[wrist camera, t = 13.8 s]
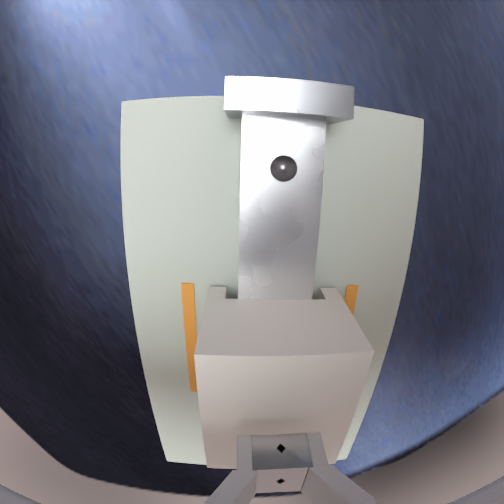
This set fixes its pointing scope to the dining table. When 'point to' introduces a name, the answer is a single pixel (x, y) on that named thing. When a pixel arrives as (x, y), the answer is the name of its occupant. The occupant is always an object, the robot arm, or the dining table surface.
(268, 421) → the block
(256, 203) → the rail
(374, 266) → the mounting board
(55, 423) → the dining table surface
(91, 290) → the dining table surface
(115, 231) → the dining table surface
